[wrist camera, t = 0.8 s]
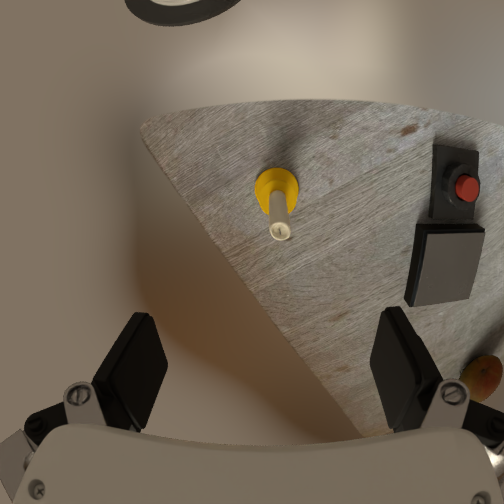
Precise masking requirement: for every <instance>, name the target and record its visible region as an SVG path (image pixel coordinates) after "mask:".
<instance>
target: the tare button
mask: <svg viewBox="0 0 504 504" xmlns="http://www.w3.org/2000/svg"><path fill="white" fill-rule="evenodd" d="M455 191H456V194H457V195H458V197H460V198H461V199H463V200H466V201H468V202H472V201H474V200H475V199H476V197H477V195H478V192H479V186H478V182H477V181H476V179H474V178H472V177H469V176H467V175H461V176H460V177H459V178H458V179H457V181H456V184H455Z"/></svg>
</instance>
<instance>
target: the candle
mask: <svg viewBox="0 0 504 504" xmlns="http://www.w3.org/2000/svg"><path fill="white" fill-rule="evenodd" d="M298 192H299V187H298V182H297V180H296V178H295V177H294V175H293V174H292V173H291V172H289V171H288V170H286V169H283V168H270V169H267V170H266V171H264V172H263V173H262V174H260V175H259V177H258V179H257V180H256V184H255V194H256V198H257V199H258V201H259V204H260V207H261V208H262V210H263V211H264V212H265V213H266V214H268V215H269V228H270V233H271V235H272V236H273V238H275V239H277V240H285V239H287V238H288V237H289V236H290V233H291V230H290V221H289V213H290V212H291V211H292V210H293V209H294V207H295V205H296V200H297V196H298Z"/></svg>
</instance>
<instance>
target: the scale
mask: <svg viewBox="0 0 504 504" xmlns="http://www.w3.org/2000/svg"><path fill="white" fill-rule="evenodd" d="M484 237H485V229H484V228H483V227H481V226H480V225H478V224H416V230H415V238H414V245H413V252H412V259H411V265H410V270H409V276H408V281H407V286H406V291H405V296H404V300H405V301H406V303H407V304H408V306H409V307H417V306H425V305H432V304H439V303H446V302H452V301H458V300H464V299H469V296H470V293H471V290H472V286H473V283H474V279H475V276H476V272H477V268H478V264H479V260H480V256H481V251H482V246H483V242H484Z"/></svg>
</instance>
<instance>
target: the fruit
mask: <svg viewBox="0 0 504 504" xmlns="http://www.w3.org/2000/svg"><path fill="white" fill-rule="evenodd" d="M502 369H503V368H502V363H501V361H500V359H499V358H498V357H496V356H493V355H485V356H481V357H478V358H476V359H475V360H473V361H472V362H471V363H470V364H469V365H468V366H467V367H466V368H465V369H464V371H463V372H462V374H461V376H460V378H459V380H460V381H462V382H463V383H464V384H465V385H466V386H467V387H468V389H469V391H470V399H471V400H473V401H476V402H478V403H479V402H482V401H483V400H485V399H487V398H488V397H489V396H490V395H491V394H492V393H493V392H494V391H495V390H496V388H497V387H498V385H499V383H500V381H501V377H502V372H503V370H502Z"/></svg>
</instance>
